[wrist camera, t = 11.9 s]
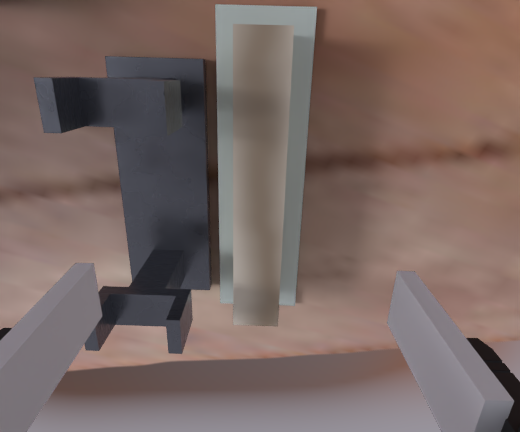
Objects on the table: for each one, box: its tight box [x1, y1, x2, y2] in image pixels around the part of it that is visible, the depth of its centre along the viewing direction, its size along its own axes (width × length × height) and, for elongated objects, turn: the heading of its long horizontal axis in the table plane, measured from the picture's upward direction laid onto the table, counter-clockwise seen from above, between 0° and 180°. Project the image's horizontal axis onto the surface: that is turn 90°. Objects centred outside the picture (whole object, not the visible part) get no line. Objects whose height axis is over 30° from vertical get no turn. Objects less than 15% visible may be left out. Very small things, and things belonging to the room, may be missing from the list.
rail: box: [233, 24, 294, 326], centre depth 31 cm, size 4×24×6 cm, turn 178°
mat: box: [215, 4, 317, 306], centre depth 34 cm, size 8×28×1 cm, turn 178°
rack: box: [34, 56, 211, 354], centre depth 29 cm, size 8×22×12 cm, turn 178°
